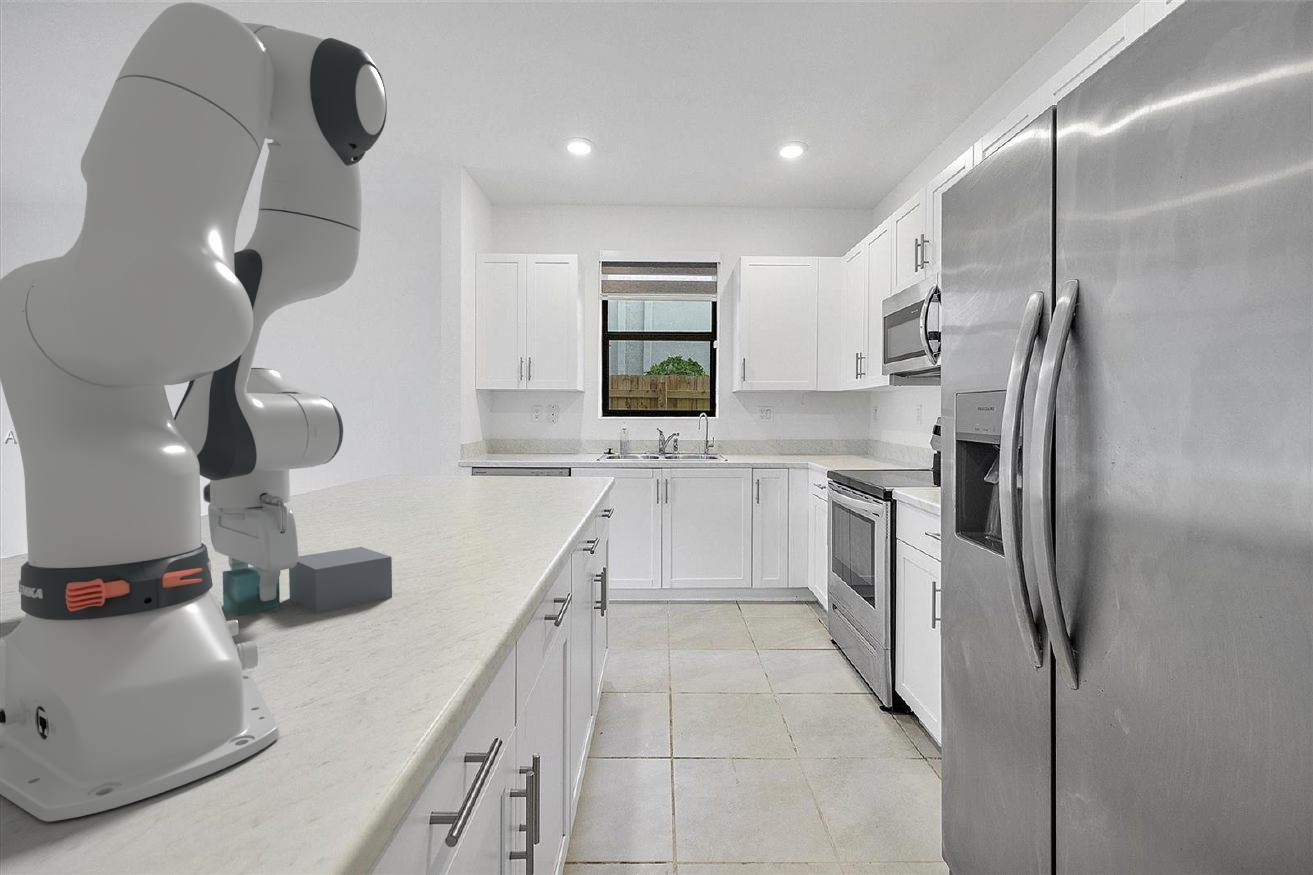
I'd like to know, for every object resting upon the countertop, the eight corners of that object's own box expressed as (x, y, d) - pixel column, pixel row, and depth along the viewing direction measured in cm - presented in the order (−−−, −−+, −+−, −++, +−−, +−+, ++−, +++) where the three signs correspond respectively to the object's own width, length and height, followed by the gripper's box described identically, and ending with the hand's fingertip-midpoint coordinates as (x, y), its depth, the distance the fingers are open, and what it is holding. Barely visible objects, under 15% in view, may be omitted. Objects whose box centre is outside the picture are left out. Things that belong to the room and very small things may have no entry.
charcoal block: (392, 598, 90) (391, 556, 90) (316, 615, 83) (315, 569, 82) (362, 586, 97) (361, 546, 96) (289, 600, 89) (288, 557, 89)
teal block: (279, 607, 86) (279, 570, 85) (237, 616, 82) (236, 577, 82) (264, 600, 89) (264, 564, 89) (223, 608, 85) (222, 571, 85)
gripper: (310, 494, 81) (313, 602, 81) (249, 483, 94) (251, 577, 94) (255, 500, 76) (258, 614, 76) (198, 487, 89) (201, 586, 89)
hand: (254, 593), depth 85 cm, fingers open, 7 cm apart
